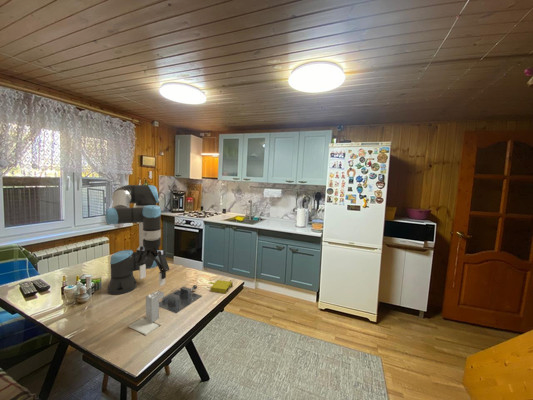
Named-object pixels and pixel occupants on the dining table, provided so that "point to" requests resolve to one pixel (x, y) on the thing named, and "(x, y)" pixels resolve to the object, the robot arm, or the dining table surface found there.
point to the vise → (179, 299)
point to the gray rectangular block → (153, 306)
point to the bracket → (220, 286)
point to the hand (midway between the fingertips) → (152, 281)
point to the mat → (144, 326)
